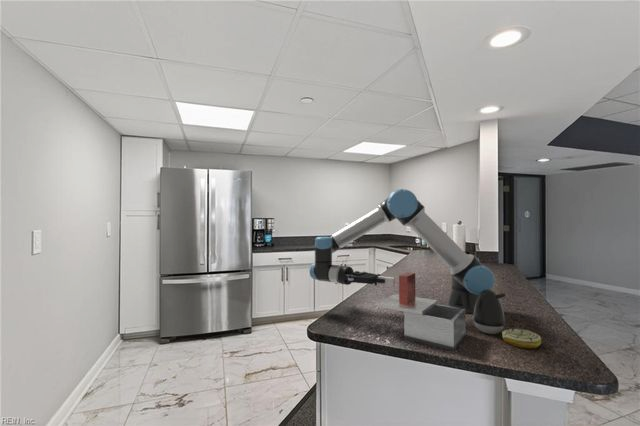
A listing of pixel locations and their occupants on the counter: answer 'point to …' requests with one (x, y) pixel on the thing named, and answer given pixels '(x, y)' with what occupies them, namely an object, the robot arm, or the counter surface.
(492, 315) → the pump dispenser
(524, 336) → the decorated donut
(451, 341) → the grey storage bin
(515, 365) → the counter surface
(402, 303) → the lid
